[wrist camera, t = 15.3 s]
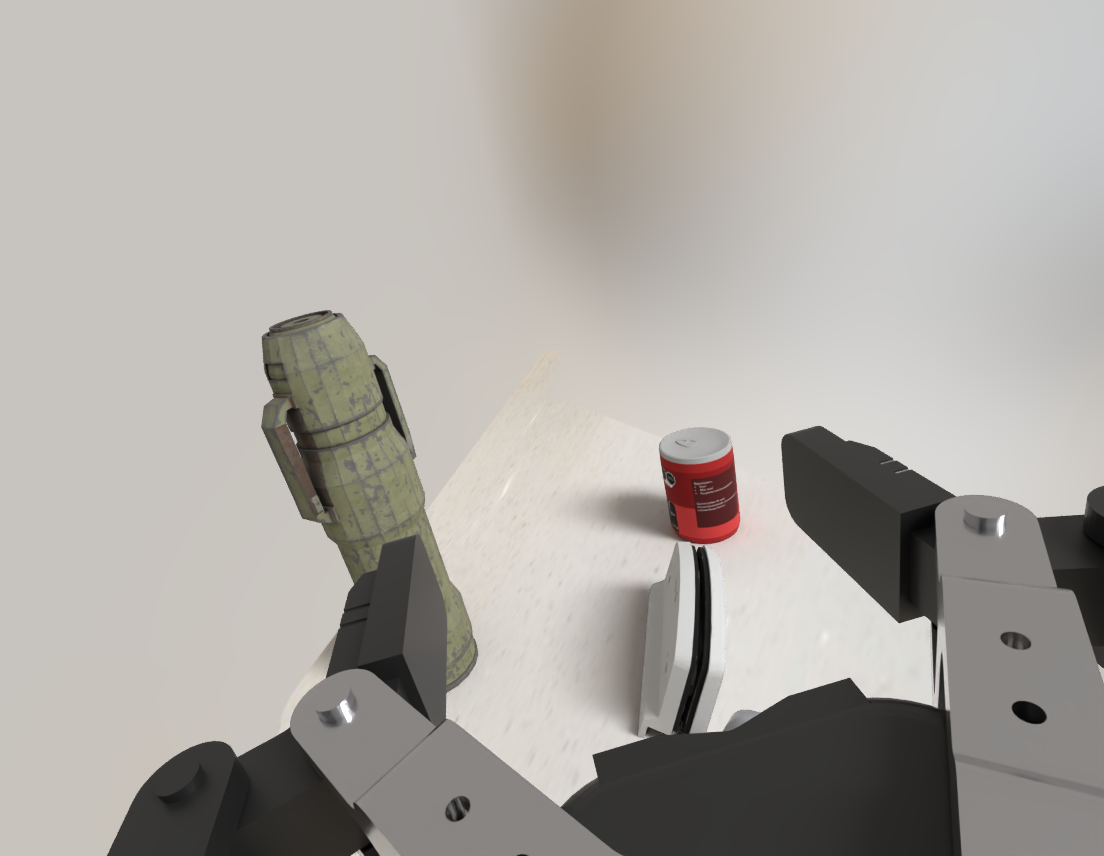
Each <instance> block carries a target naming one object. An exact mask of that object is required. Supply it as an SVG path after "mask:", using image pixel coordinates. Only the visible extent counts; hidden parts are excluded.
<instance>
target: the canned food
mask: <svg viewBox="0 0 1104 856" xmlns="http://www.w3.org/2000/svg"><path fill="white" fill-rule="evenodd" d="M659 453H660V460H661V466H662V472H663V478H664V484H665V490H666V496H667V501H668V507H669V513H670V519H671V524H672V526H673V528H674V530H675V532H676V533H677V534H678V535H679V536H680V537H681V538H683V539H685V540H687V541H691V542H695V543H704V544H706V543H715V542H720V541H723V540H725V539H727V538H729V537H731V536H732V535H734V533H735V532H736V531H737V529H738V527H739V523H740V512H739V502H738V493H737V483H736V474H735V464H734V455H733V447H732V442H731V438H730V436H729V435H728V434H727V433H725V432H723V431H721V430H717V429H713V428H689V429H683V430H680V431H676V432H674V433H671V434H670V435H668V436H666V437H665V438H663V439H662V441H661V442H660V444H659Z"/></svg>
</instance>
